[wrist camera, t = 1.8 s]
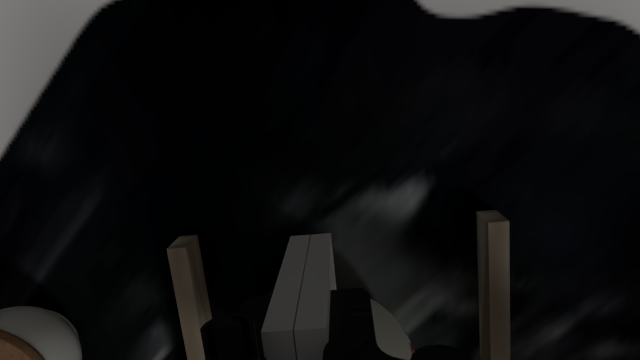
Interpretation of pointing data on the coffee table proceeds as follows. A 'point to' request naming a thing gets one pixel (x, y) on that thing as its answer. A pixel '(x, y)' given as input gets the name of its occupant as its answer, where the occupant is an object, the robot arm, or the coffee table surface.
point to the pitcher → (390, 333)
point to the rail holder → (490, 288)
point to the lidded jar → (37, 335)
